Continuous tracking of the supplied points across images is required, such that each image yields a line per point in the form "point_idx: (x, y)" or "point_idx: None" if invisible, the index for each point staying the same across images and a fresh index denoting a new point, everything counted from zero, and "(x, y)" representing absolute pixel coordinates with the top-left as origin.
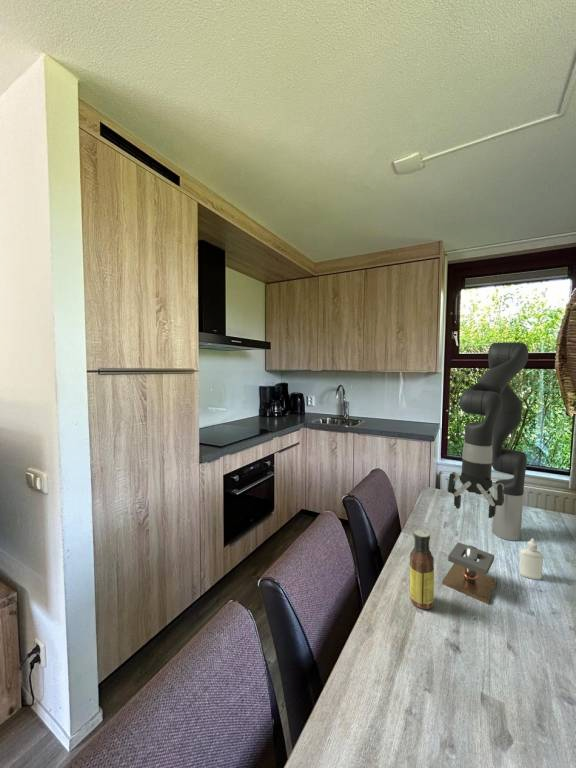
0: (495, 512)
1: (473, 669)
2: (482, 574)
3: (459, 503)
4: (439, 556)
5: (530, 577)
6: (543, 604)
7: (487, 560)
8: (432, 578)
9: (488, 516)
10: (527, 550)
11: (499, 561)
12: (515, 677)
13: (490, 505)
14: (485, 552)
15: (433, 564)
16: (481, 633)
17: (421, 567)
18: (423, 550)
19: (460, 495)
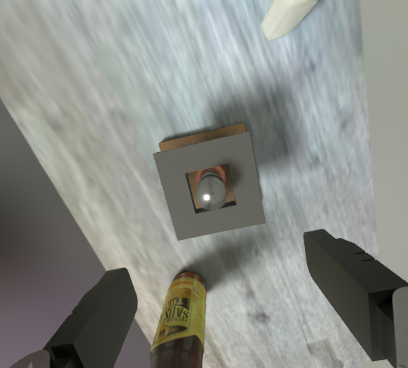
0: (362, 250)
1: (290, 327)
2: (216, 131)
3: (119, 316)
4: (121, 136)
5: (287, 33)
6: (326, 114)
7: (249, 177)
8: (204, 333)
9: (313, 279)
10: None
11: (212, 19)
12: (328, 301)
13: (382, 350)
14: (228, 140)
15: (199, 352)
16: (275, 271)
17: None
18: None
19: (71, 347)
